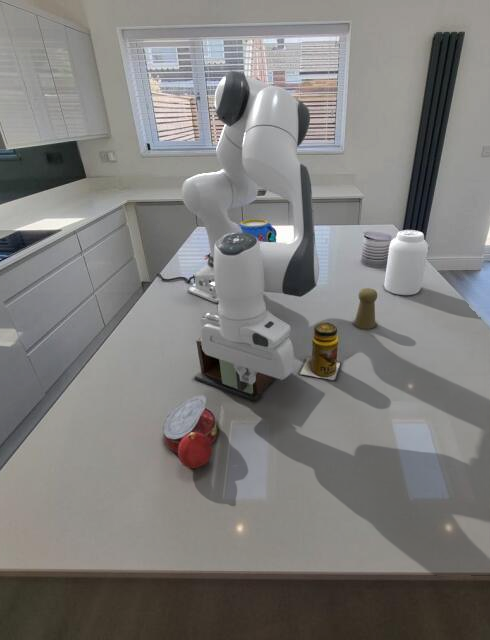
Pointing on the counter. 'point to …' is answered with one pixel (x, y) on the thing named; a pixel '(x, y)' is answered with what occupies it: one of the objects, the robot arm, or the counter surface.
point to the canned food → (189, 422)
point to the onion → (195, 450)
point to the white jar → (406, 263)
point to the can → (375, 248)
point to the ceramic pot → (259, 230)
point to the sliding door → (233, 377)
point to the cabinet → (213, 377)
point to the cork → (366, 309)
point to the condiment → (323, 353)
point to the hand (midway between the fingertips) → (248, 381)
